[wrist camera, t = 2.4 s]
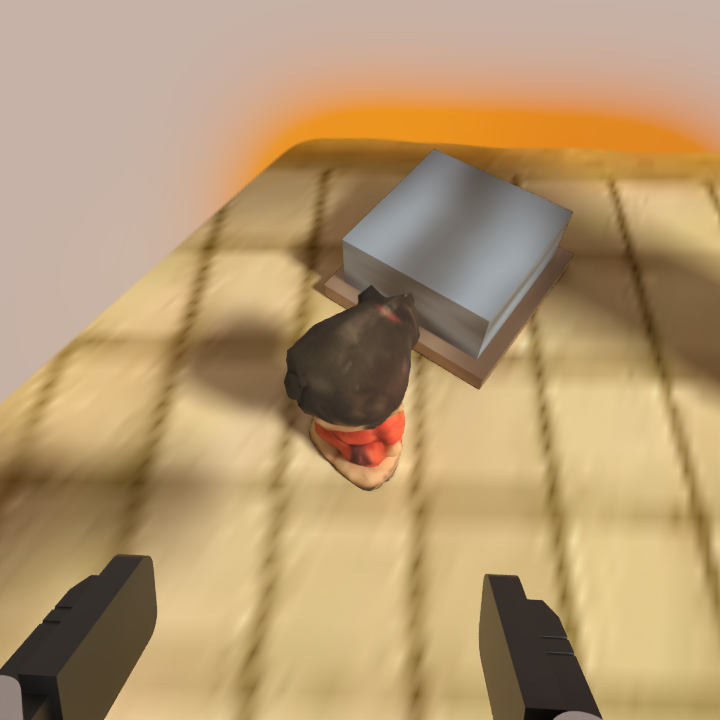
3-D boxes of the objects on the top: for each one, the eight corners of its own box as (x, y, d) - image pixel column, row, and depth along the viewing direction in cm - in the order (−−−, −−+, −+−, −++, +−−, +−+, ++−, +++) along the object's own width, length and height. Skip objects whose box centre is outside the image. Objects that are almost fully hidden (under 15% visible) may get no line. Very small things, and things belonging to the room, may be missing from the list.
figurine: (320, 385, 32) (294, 251, 22) (411, 398, 32) (429, 266, 21) (297, 485, 29) (254, 384, 19) (397, 501, 28) (411, 406, 18)
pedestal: (568, 265, 36) (595, 209, 32) (479, 389, 32) (496, 343, 27) (423, 194, 40) (429, 135, 36) (325, 295, 36) (318, 242, 31)
